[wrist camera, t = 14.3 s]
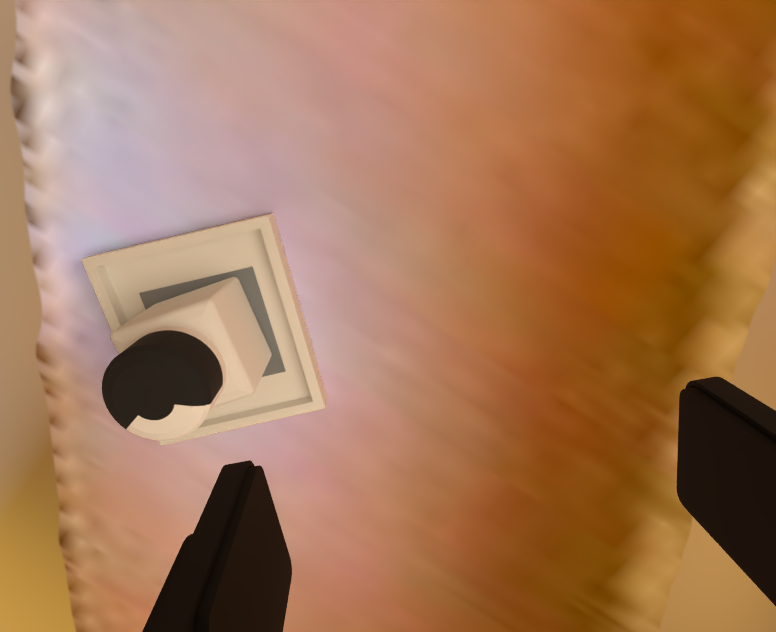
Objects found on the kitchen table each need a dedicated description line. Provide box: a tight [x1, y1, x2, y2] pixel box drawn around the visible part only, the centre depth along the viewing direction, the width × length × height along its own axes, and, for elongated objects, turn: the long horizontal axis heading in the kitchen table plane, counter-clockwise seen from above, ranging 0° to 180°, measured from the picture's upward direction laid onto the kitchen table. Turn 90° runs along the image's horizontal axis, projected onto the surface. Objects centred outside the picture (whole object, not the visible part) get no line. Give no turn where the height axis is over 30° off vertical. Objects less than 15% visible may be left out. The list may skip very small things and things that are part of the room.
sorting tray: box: [81, 213, 327, 446], centre depth 38 cm, size 16×14×2 cm
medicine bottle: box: [102, 277, 272, 441], centre depth 32 cm, size 7×7×12 cm
